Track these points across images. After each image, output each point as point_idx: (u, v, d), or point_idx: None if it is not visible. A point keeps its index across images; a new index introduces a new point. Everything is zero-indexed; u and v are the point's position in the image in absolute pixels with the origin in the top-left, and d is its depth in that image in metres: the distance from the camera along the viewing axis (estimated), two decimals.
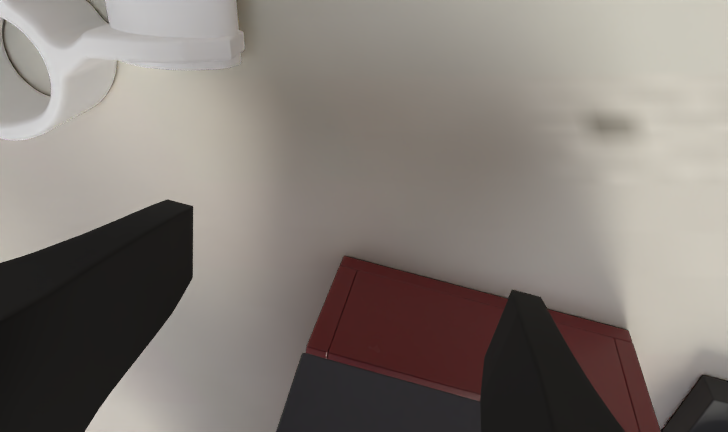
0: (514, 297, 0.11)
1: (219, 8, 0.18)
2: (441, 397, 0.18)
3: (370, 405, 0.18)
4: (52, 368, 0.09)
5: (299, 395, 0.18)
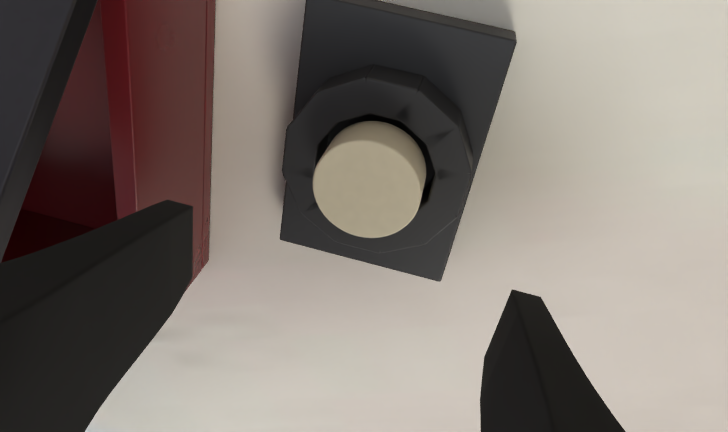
0: (514, 297, 0.11)
1: None
2: None
3: None
4: (52, 368, 0.09)
5: None
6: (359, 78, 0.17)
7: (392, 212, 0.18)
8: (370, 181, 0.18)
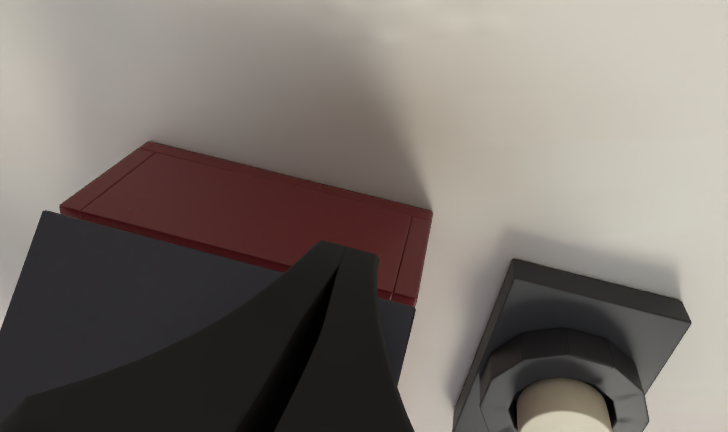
0: (345, 253, 0.11)
1: None
2: (179, 253, 0.18)
3: (106, 262, 0.18)
4: (266, 431, 0.08)
5: (37, 254, 0.18)
6: (563, 354, 0.21)
7: None
8: None
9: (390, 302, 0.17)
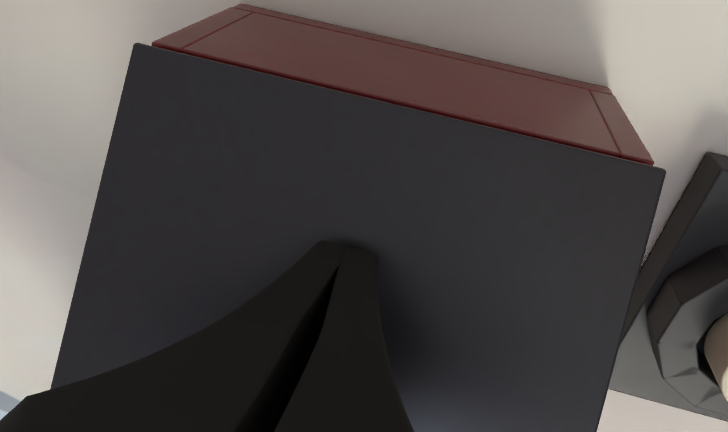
0: (345, 253, 0.11)
1: None
2: (328, 98, 0.13)
3: (228, 113, 0.13)
4: (266, 431, 0.08)
5: (133, 104, 0.13)
6: None
7: None
8: None
9: (630, 162, 0.12)
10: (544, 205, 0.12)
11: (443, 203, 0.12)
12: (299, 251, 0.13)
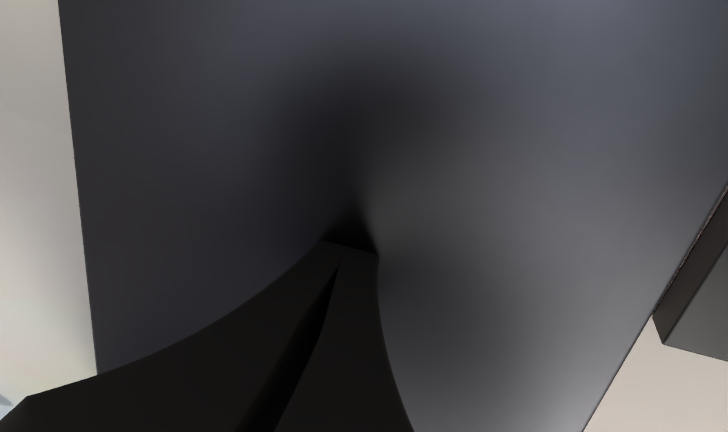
0: (345, 253, 0.11)
1: None
2: None
3: None
4: (266, 430, 0.08)
5: None
6: None
7: None
8: None
9: None
10: (645, 29, 0.09)
11: (498, 31, 0.09)
12: (313, 99, 0.10)
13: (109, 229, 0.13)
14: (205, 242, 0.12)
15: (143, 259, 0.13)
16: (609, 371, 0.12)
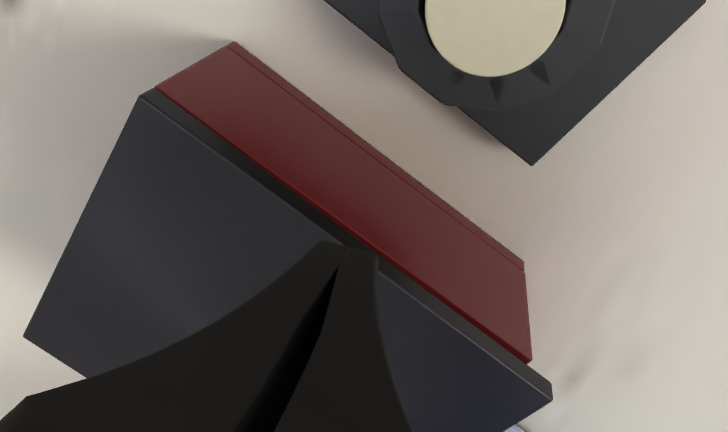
0: (345, 253, 0.11)
1: None
2: (63, 266, 0.19)
3: (66, 315, 0.20)
4: (267, 431, 0.08)
5: (56, 353, 0.22)
6: None
7: None
8: None
9: (129, 117, 0.16)
10: (150, 183, 0.17)
11: (138, 238, 0.18)
12: (153, 321, 0.19)
13: None
14: None
15: None
16: None
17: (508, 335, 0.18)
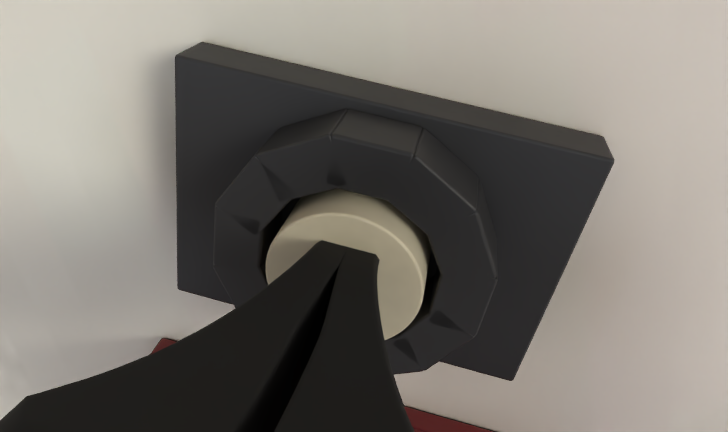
0: (345, 253, 0.11)
1: None
2: None
3: None
4: (266, 431, 0.08)
5: None
6: (216, 271, 0.13)
7: None
8: None
9: None
10: None
11: None
12: None
13: None
14: None
15: None
16: None
17: None
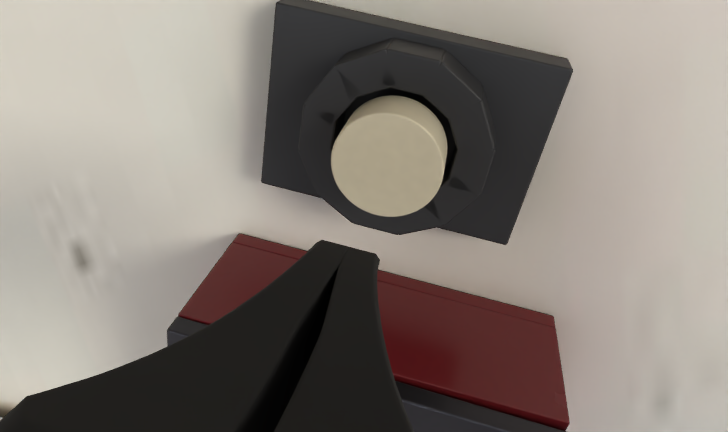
0: (345, 253, 0.11)
1: None
2: None
3: None
4: (266, 431, 0.08)
5: None
6: (300, 155, 0.19)
7: (408, 143, 0.17)
8: (374, 162, 0.17)
9: (168, 345, 0.20)
10: None
11: None
12: None
13: None
14: None
15: None
16: None
17: (539, 406, 0.20)
